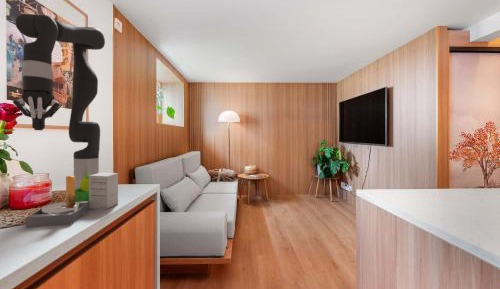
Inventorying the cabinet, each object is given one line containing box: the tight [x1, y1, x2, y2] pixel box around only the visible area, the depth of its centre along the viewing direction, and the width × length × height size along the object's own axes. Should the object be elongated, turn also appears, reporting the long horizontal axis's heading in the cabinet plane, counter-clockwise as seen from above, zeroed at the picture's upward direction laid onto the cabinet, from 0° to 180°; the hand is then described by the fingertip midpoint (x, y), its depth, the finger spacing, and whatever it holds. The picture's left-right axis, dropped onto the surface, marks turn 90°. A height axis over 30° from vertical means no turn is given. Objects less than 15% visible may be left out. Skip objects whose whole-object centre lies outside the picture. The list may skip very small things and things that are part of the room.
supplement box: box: [89, 172, 119, 210], centre depth 96 cm, size 7×7×13 cm
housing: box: [25, 201, 91, 228], centre depth 82 cm, size 16×12×5 cm
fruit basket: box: [75, 176, 89, 202], centre depth 101 cm, size 11×9×11 cm
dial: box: [41, 175, 79, 214], centre depth 82 cm, size 10×10×12 cm
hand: (38, 130), depth 81 cm, fingers closed
